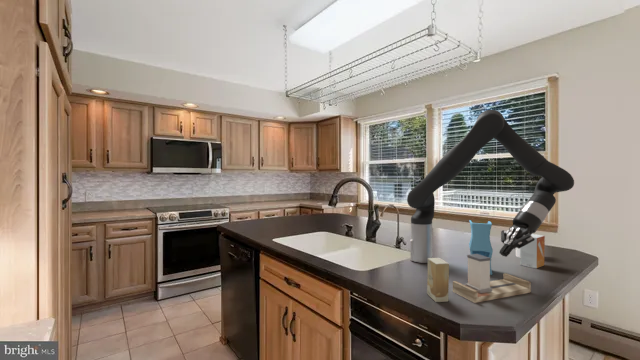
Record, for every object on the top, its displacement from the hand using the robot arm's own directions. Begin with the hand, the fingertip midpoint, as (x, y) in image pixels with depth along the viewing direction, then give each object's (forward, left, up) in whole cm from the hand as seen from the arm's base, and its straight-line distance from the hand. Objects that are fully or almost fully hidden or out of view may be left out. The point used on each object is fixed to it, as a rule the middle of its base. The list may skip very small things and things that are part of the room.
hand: (502, 254), depth 100 cm
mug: (+21, +48, -12) cm, 53 cm away
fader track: (-4, -5, -12) cm, 13 cm away
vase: (-4, +18, -12) cm, 22 cm away
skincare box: (-21, -16, -12) cm, 29 cm away
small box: (+18, +33, -12) cm, 39 cm away
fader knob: (-9, -9, -10) cm, 16 cm away
